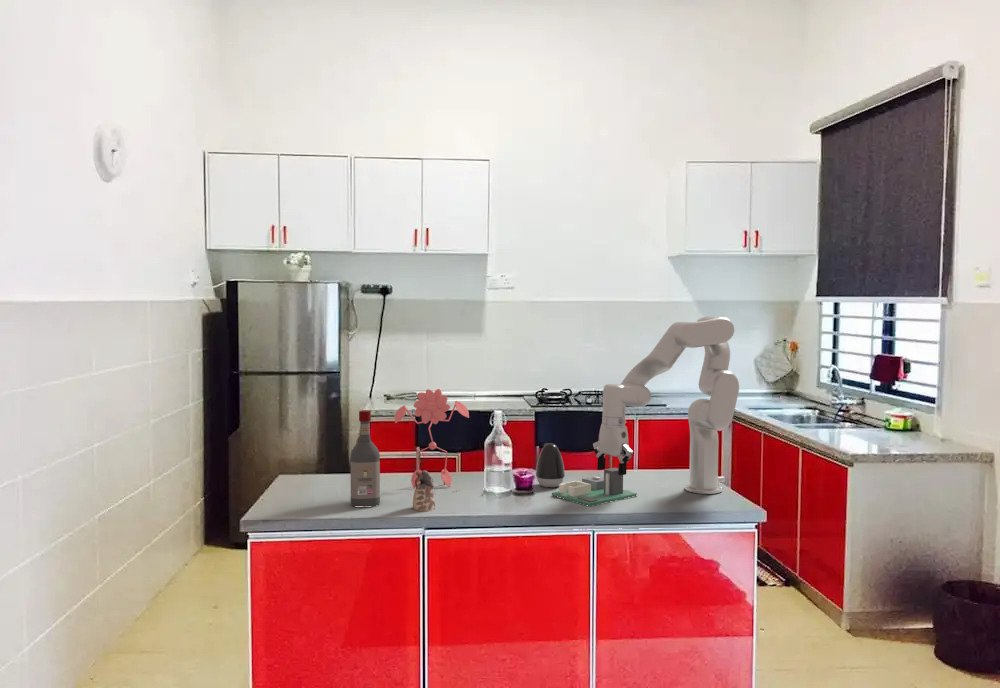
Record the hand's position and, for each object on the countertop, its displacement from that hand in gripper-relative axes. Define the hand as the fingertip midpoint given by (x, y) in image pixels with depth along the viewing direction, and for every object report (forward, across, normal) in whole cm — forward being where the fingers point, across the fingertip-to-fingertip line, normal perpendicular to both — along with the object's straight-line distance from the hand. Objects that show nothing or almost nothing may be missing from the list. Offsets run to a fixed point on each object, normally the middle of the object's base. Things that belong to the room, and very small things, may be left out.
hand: (611, 472), depth 269 cm
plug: (+7, 0, -1) cm, 7 cm away
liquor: (+11, +41, +70) cm, 82 cm away
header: (+8, +8, +9) cm, 15 cm away
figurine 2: (+10, +25, +58) cm, 64 cm away
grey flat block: (+7, +10, -3) cm, 12 cm away
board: (+8, +4, +4) cm, 10 cm away
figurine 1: (+10, +45, +42) cm, 62 cm away
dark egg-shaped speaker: (+9, +24, +6) cm, 26 cm away
